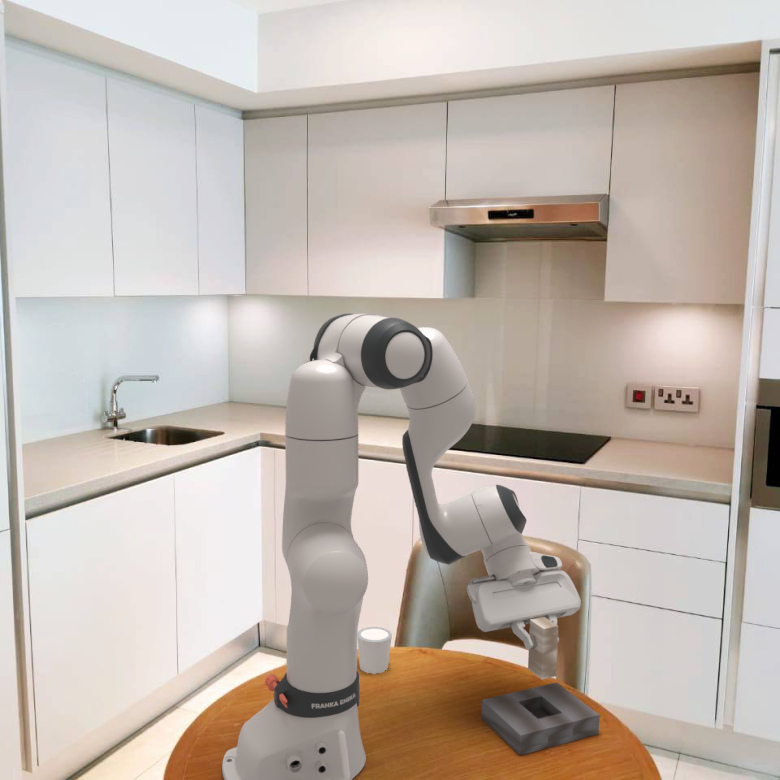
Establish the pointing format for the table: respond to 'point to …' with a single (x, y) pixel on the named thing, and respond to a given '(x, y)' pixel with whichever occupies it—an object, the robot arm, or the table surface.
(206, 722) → the table surface
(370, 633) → the white cup
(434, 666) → the table surface
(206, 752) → the table surface
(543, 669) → the peg
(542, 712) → the slot holder
